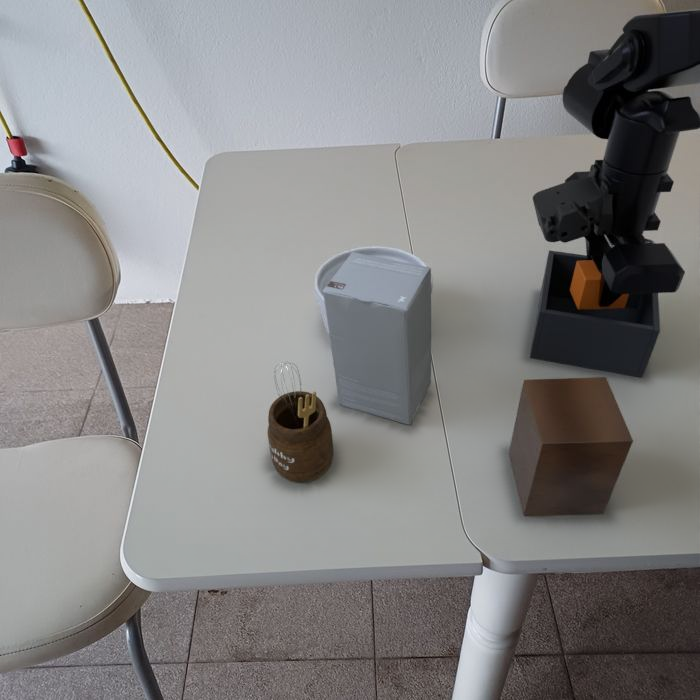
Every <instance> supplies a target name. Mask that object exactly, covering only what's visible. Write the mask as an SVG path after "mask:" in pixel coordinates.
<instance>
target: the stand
mask: <svg viewBox="0 0 700 700" xmlns="http://www.w3.org/2000/svg"><path fill="white" fill-rule="evenodd" d="M512 430H513V431H512V433H511V439H510V444H509V445H510V446H509V449H508V456H509V460H510V465H511V469H512V472H513V473H512V474H513V477H514V481H515V486H516V490H517V494H518V498H519V502H520V507H521V510H522V516H524V517H537V516H539V517H540V516H541V517H542V516H570V515H571V516H572V515H576V516H577V515H604V514H605V511H606V508H607V506H608V505H609V501H610V499H611V496H612V494H613V491H614V489H615V487H616V484H617V482H618V479H619V477H620V474H621V472H622V469H623V467H624V466H625V465H624V464H625V462H626V459H627V457H628V454H629V452H630V449H631V447H632V444H633V442H634V439H633V436H632V434H631V433H630V430H629V428H628V426H627V423H626V420H625V418H624V416H623V414H622V411H621V409H620V406H619V404H618V402H617V400H616V398H615V395H614V393H613V391H612V388H611V385H610V384H609V381H608V379H607V377H606V376H602V377H601V376H600V377H598V376H597V377H596V376H595V377H569V378H567V377H566V378H540V379H539V378H538V379H523V382H522V387H521V392H520V396H519V402H518V406H517V411H516V415H515V420H514V425H513V429H512Z"/></svg>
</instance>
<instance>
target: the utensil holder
mask: <svg viewBox="0 0 700 700" xmlns="http://www.w3.org/2000/svg"><path fill="white" fill-rule="evenodd" d="M292 365H294V367H296V369H297V370H296V369H294V371H295V372H296V374H297V377H298V381H299V386H300V388H299V390H297V391H296V384H295V381H292V378H293V380H295V377H294V372H293V366H292ZM284 366H285V368H286V369H287V373H288V375H289V378H290V381H291V387H292V390H293V391H288V388H287V383H286V381H285V376H284V372H283V368H284ZM287 366H289V367H290V369H291V373H292V376H291V374H290V371H289V369H288V367H287ZM274 367H275V368H274V370H275V371H274V376H273V379H274V380H275V381H274V384H275V388H276V392H277V395H278V397H277V398H276V399H275V400H274V401H273V402H272V404H271V405H270V407H269V410H268V417H267V419H268V421H267V422H268V426H267V441H268V448H269V453H270V458H271V461H272V465H273V467H274V469H275V471H276V472H277V473H278V475H280V476H281V477H282V478H284V479H285V480H286V481H290V482H294V483H309V482H312V481H315V480H317V479H319V478H320V477H322V476H324V475H325V474H326V473H327V472H328V470H329V469H330V468H331V465H332V464H333V459H334V441H333V431H332V426H331V422H330V419H329V417H328V415H327V414H328V413H327V409H326V407H325V404H324V403H323V401H322V400H321V398H320V397H318V396H317V392H316V391H313V392H312V393H311V392H308V391H303V390H302V380H301V379H302V378H301V375H300V370H299V368H298V366H297V365H296V364H295V363H292V362H289V361H285V362H283V361H282V362H280V363H279V364H277V365H276V366H274ZM279 368H280V369H281V370H280V374H281V375H282V377H283V380H282V379H280V382H281V387H282V392H283V393H282V392H281V390H280V388H279V384H278V380H276V379H277V376H276V373H277V370H279ZM283 382H284V385H285V389H286V393H285V391H284V386H283Z"/></svg>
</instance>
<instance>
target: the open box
mask: <svg viewBox="0 0 700 700" xmlns="http://www.w3.org/2000/svg"><path fill="white" fill-rule="evenodd" d="M583 260H587V254H579V253H572V252H565V251H564V252H563V251H556V250H548V253H547V259H546V263H545V268H544V273H543V278H542V283H541V287H540V288H541V289H540V292H539V298H538V303H537V304H538V305H537V310H536V317H535V324H534V329H533V336H532V340H531V341H532V342H531V349H530V354H529V358H530V359H535V360H541V361H545V362H552V363H557V364H563V365H569V366H575V367H579V368H585V369H591V370H595V371H597V370H598V371H602V372H608V373H612V374H613V373H614V374H620V375H625V376H631V377H637V378H643V377H644V374H645V372H646V369H647V367H648V364H649V361H650V359H651V357H652V353H653V351H654V348H655V345H656V343H657V340H658V338H659V335H660V333H661V322H660V320H661V319H660V305H659V304H660V303H659V293H642V294H629V296H628V299H627V302H626V305H625V308H615V309H584V310H578V308H577V306H576V304H575V301H574V299H573V297H572V294H571V292H570V287H571V283H572V279H573V275H574V271H575V266H576V262H577V261H583Z"/></svg>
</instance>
